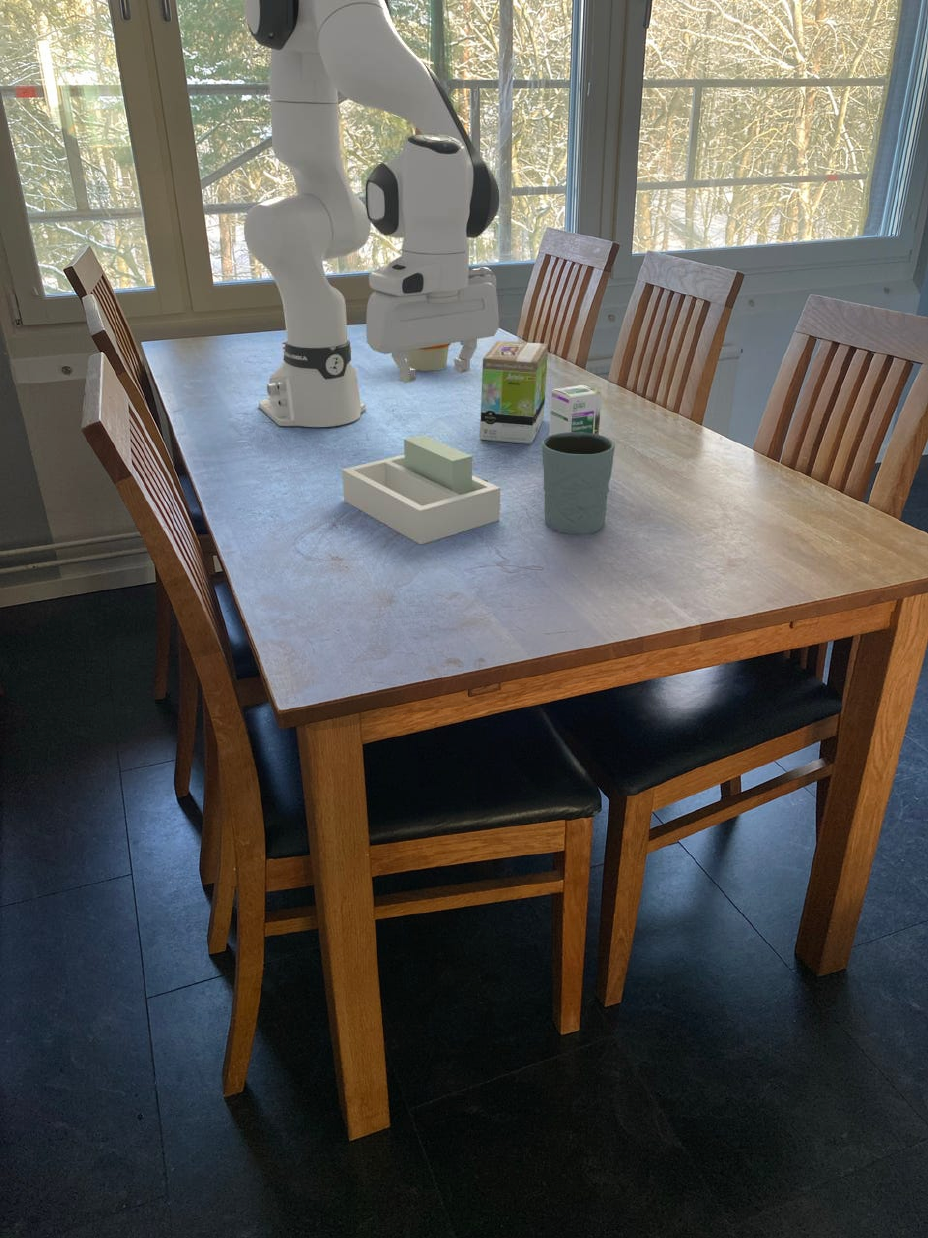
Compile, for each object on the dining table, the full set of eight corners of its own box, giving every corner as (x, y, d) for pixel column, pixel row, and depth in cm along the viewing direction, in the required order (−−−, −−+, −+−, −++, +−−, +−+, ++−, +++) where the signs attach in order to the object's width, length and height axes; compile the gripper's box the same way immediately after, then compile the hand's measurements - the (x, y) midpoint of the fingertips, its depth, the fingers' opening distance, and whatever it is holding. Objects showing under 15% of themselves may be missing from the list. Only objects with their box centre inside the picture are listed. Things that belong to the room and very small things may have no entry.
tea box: (534, 445, 164) (538, 360, 156) (478, 441, 165) (479, 357, 158) (545, 420, 177) (548, 341, 169) (493, 416, 178) (494, 338, 171)
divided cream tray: (344, 500, 140) (342, 469, 138) (425, 479, 148) (424, 449, 146) (420, 544, 127) (420, 510, 124) (505, 518, 135) (506, 486, 132)
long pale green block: (405, 489, 142) (404, 439, 138) (425, 484, 144) (424, 434, 140) (452, 513, 133) (452, 460, 130) (472, 508, 135) (473, 455, 131)
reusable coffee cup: (464, 364, 214) (465, 296, 206) (434, 375, 204) (433, 305, 197) (420, 356, 220) (418, 290, 212) (388, 367, 210) (386, 299, 203)
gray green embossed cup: (589, 542, 127) (596, 459, 122) (525, 526, 132) (528, 445, 126) (619, 518, 135) (626, 438, 129) (557, 504, 140) (562, 426, 134)
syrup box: (566, 487, 145) (571, 396, 138) (546, 475, 150) (550, 387, 143) (596, 481, 148) (603, 391, 141) (575, 470, 152) (581, 382, 145)
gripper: (481, 262, 130) (479, 361, 137) (358, 275, 119) (362, 382, 126) (510, 268, 126) (506, 370, 133) (384, 283, 115) (387, 393, 122)
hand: (435, 376), depth 130 cm, fingers open, 8 cm apart
